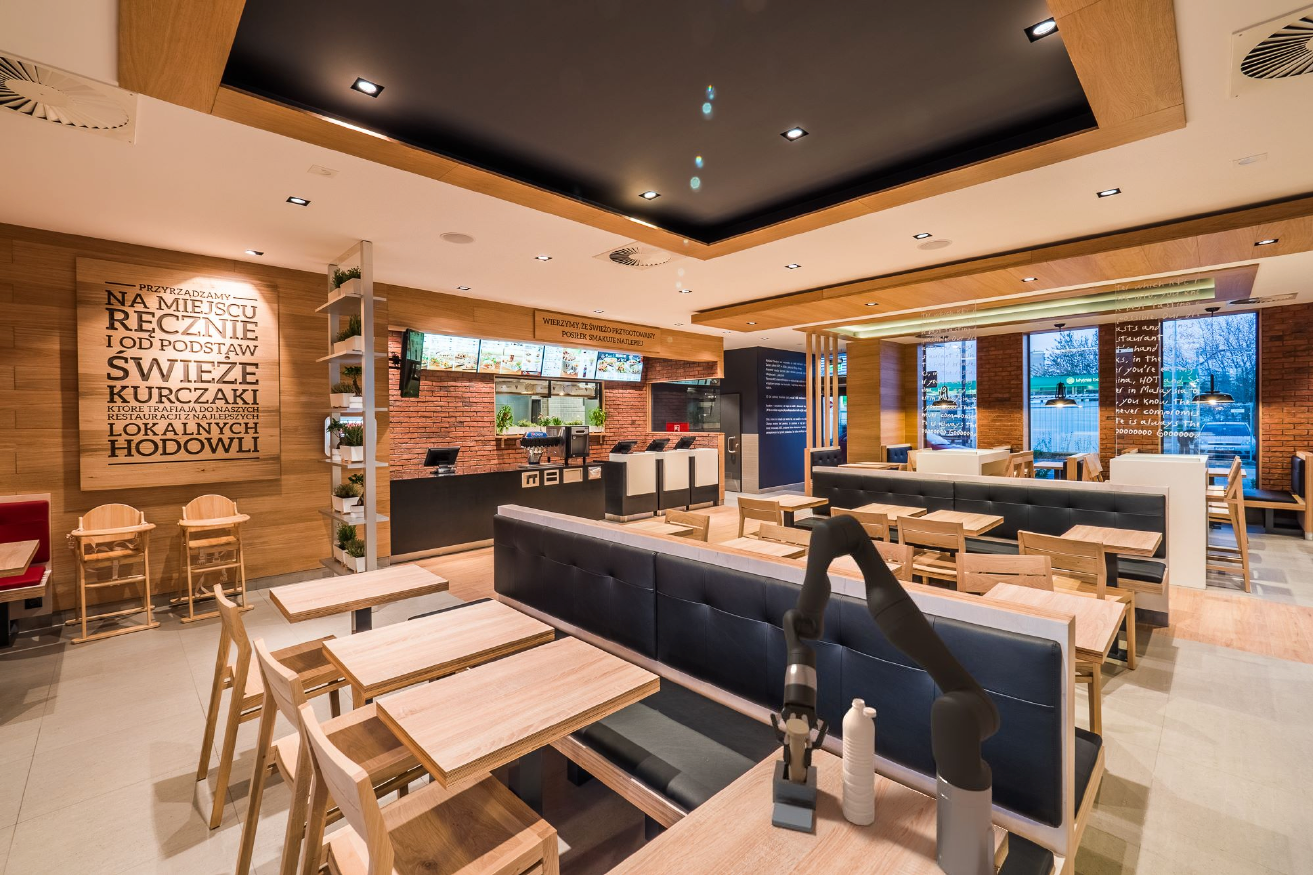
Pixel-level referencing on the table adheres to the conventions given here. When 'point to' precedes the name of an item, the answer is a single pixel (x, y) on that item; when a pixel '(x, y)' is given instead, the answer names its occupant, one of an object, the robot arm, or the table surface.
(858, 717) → the water bottle
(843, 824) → the table surface
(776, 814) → the rubber mat
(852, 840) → the table surface
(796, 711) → the robot arm
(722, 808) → the table surface
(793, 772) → the handle
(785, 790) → the socket block
